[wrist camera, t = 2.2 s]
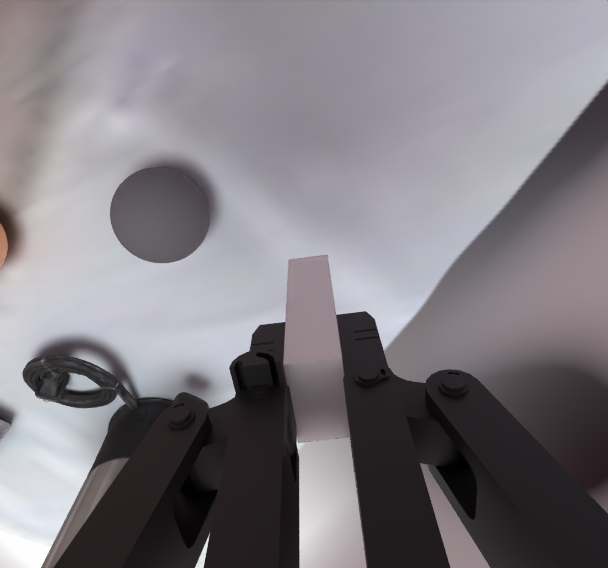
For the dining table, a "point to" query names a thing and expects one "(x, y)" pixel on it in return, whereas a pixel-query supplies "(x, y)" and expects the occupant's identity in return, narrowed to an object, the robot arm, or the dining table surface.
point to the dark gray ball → (159, 215)
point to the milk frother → (118, 442)
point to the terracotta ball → (3, 245)
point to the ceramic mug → (3, 428)
